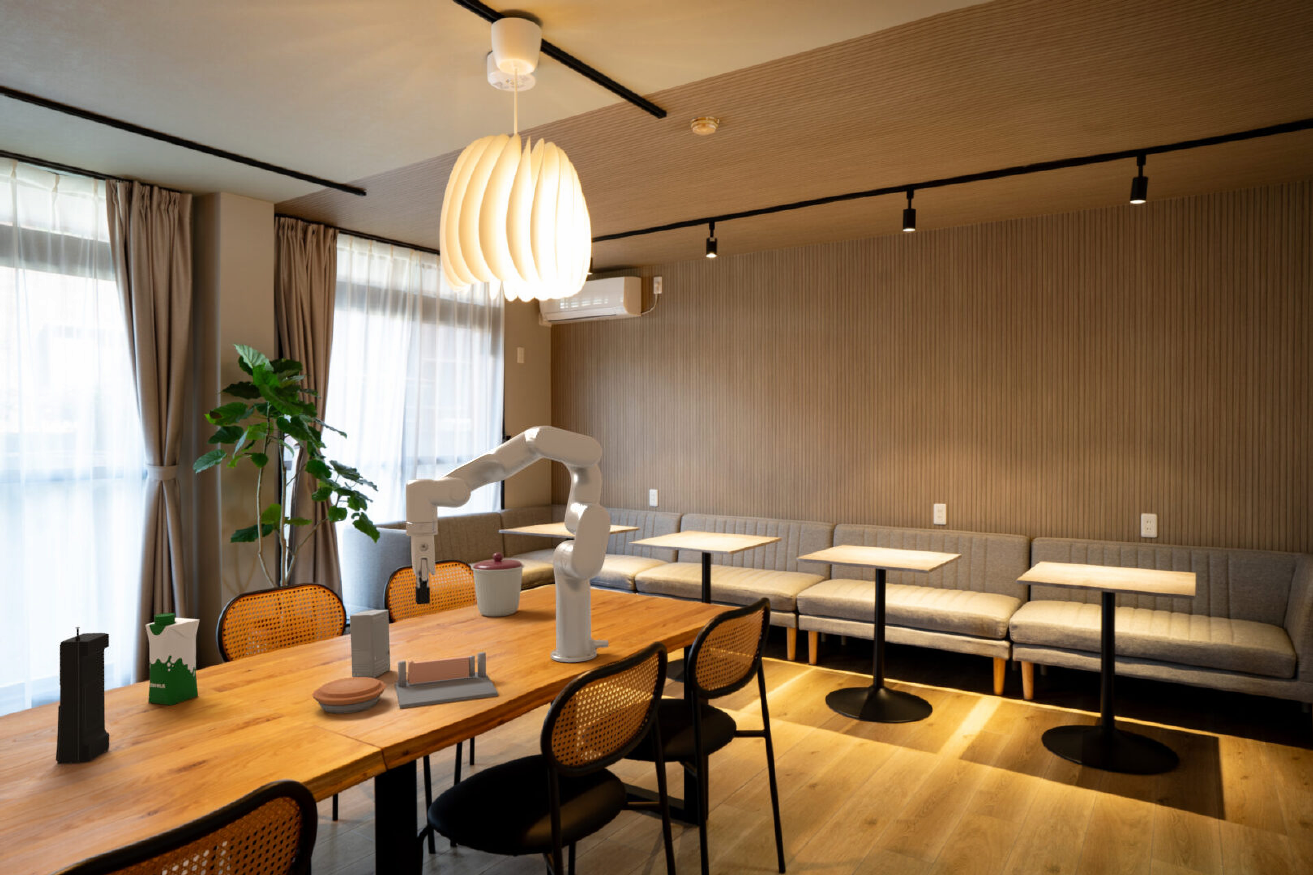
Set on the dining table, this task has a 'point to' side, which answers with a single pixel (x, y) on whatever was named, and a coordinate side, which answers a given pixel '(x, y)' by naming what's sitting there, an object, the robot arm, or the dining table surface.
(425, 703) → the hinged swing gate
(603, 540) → the robot arm
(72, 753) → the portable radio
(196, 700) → the dining table surface
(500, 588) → the canister
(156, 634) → the milk carton
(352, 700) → the pie
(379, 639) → the skincare box
